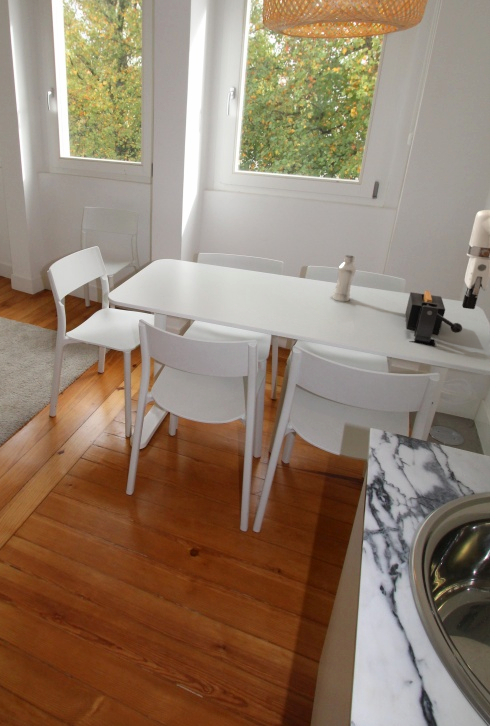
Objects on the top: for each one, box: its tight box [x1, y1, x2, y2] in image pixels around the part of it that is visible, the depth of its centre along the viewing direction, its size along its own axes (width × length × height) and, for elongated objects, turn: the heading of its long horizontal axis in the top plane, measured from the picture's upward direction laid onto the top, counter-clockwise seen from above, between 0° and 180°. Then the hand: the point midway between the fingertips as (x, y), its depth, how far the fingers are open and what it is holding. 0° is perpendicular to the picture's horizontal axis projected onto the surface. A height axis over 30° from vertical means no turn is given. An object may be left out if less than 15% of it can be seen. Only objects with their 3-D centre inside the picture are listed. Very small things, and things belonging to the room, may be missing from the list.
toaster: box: [404, 292, 446, 336], centre depth 168 cm, size 10×14×11 cm
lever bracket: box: [408, 301, 438, 348], centre depth 156 cm, size 8×8×14 cm
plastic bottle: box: [332, 254, 356, 302], centre depth 188 cm, size 6×7×20 cm
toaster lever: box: [426, 304, 463, 334], centre depth 154 cm, size 13×3×3 cm, turn 65°
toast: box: [423, 290, 432, 303], centre depth 167 cm, size 2×10×10 cm, turn 155°
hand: (468, 307), depth 149 cm, fingers closed
